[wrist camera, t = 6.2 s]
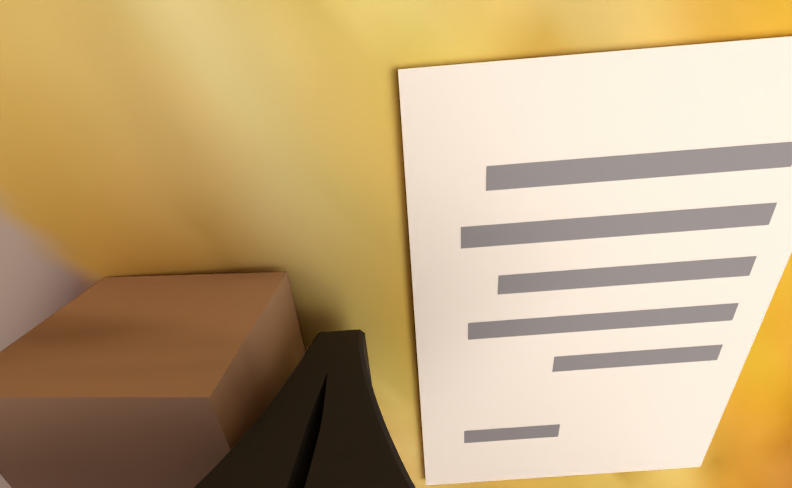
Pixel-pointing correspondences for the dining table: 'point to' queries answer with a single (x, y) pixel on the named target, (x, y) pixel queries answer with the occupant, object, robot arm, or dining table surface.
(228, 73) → the dining table surface
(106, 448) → the walnut block
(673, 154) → the letter
